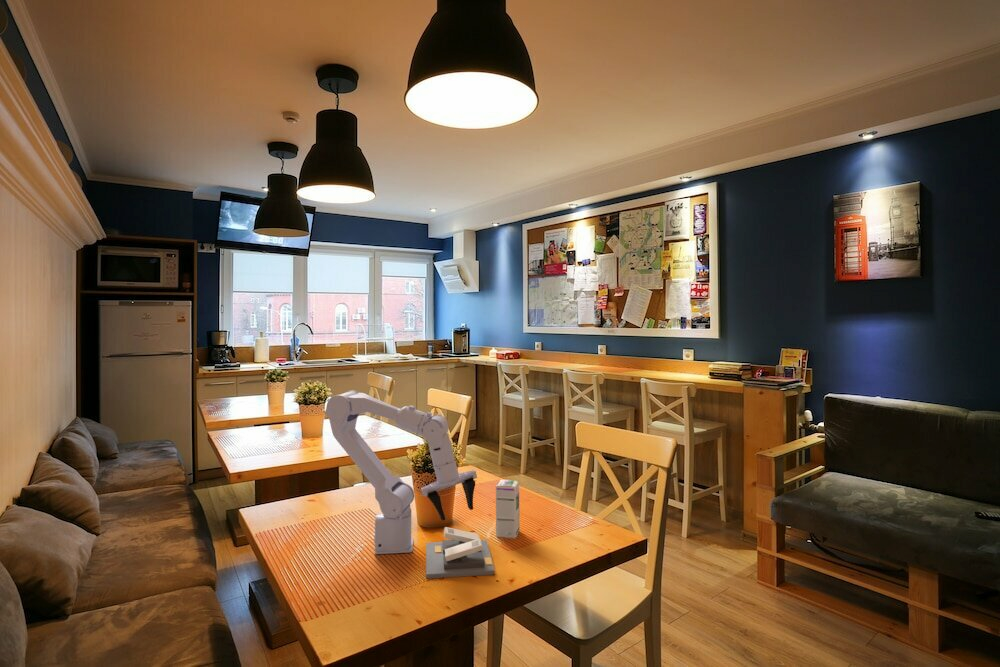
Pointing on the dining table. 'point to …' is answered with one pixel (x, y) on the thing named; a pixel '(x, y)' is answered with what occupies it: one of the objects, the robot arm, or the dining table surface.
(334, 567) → the dining table surface
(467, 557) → the switch board
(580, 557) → the dining table surface
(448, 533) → the back rocker
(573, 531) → the dining table surface
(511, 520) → the syrup box
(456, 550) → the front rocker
